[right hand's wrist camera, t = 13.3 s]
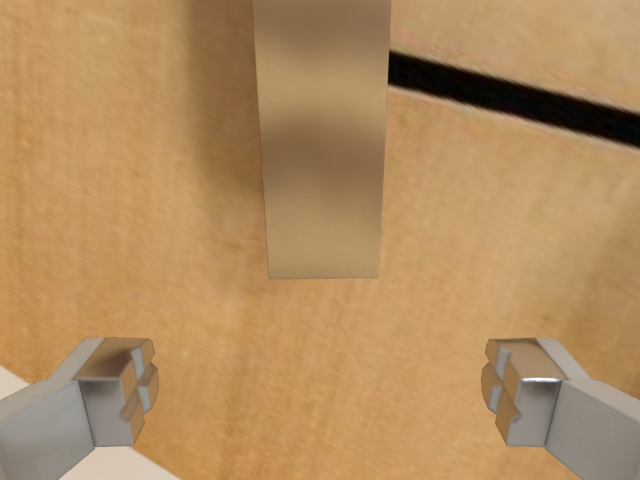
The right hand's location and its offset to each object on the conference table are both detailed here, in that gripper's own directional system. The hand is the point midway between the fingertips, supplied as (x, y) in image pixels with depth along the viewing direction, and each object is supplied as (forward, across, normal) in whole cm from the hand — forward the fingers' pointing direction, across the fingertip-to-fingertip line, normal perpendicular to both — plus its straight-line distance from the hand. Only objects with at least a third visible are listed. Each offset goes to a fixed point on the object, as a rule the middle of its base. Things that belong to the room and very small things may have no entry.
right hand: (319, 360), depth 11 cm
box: (+27, 0, +8) cm, 28 cm away
